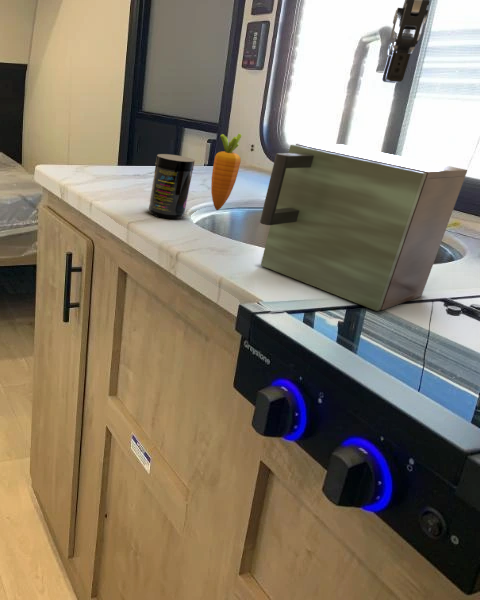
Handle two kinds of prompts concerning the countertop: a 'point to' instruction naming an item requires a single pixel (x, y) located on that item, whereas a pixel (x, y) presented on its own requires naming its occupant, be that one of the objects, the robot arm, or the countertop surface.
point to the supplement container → (170, 186)
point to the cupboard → (414, 219)
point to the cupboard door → (338, 221)
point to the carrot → (225, 171)
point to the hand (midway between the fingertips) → (391, 82)
